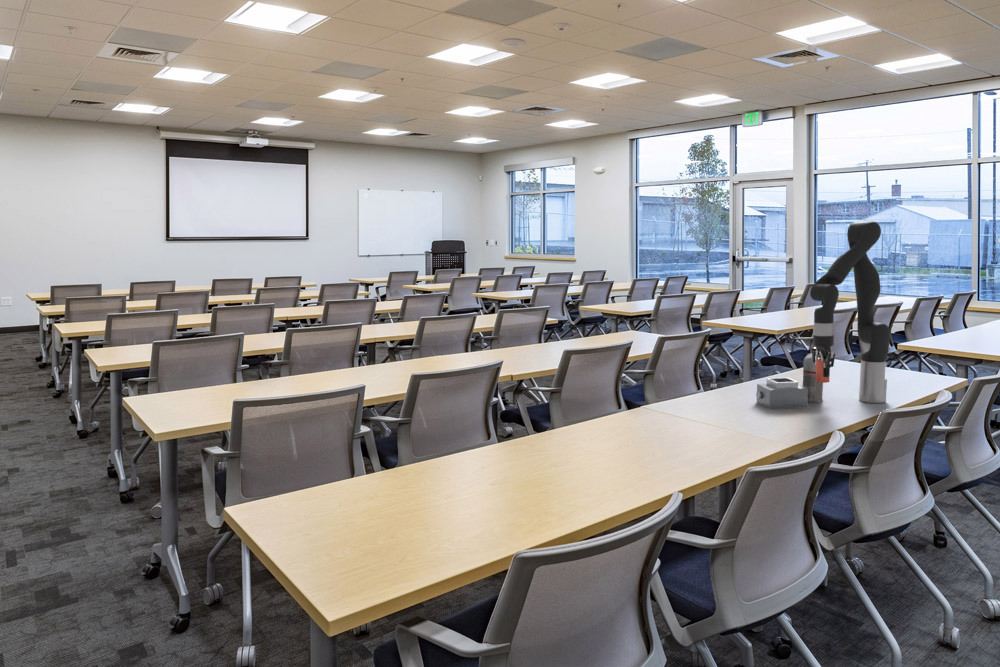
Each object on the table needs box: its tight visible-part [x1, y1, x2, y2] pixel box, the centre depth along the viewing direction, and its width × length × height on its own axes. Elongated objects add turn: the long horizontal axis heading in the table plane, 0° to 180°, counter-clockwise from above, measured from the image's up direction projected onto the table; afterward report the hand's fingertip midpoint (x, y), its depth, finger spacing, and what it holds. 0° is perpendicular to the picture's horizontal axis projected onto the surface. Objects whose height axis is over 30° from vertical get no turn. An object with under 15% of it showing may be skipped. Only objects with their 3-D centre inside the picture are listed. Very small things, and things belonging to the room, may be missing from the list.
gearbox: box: [755, 377, 808, 410], centre depth 296 cm, size 17×12×10 cm
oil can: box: [816, 355, 830, 384], centre depth 286 cm, size 5×5×11 cm
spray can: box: [802, 352, 824, 403], centre depth 301 cm, size 8×8×20 cm
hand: (822, 375), depth 286 cm, fingers closed on oil can, 5 cm apart
